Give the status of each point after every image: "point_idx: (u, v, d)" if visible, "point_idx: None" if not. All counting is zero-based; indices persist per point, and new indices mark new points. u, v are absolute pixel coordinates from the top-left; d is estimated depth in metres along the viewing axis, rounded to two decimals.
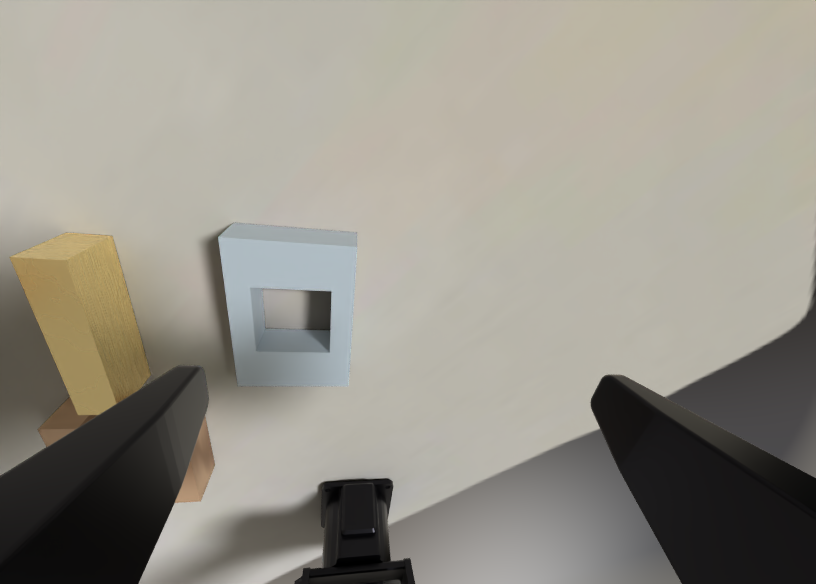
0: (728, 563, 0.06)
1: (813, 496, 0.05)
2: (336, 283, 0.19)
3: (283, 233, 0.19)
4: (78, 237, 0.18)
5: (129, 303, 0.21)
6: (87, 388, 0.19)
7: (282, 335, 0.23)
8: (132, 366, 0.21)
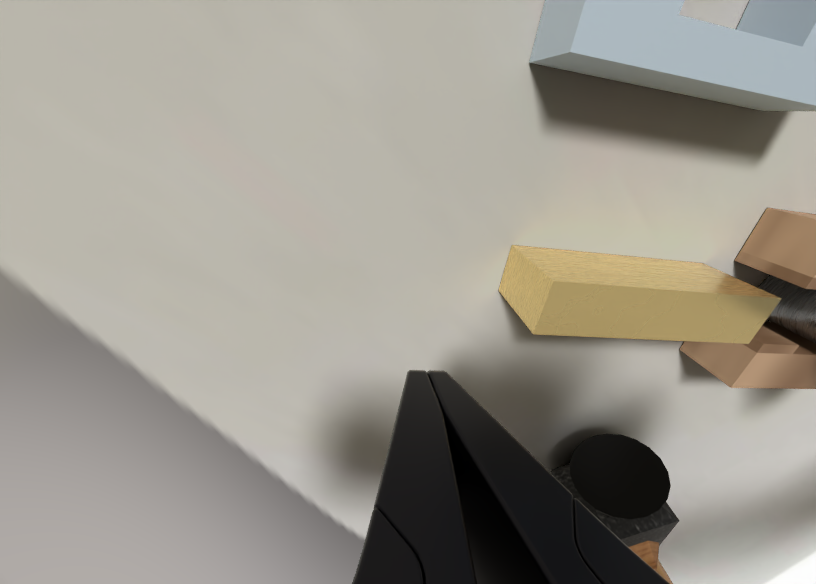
0: None
1: (540, 513, 0.04)
2: None
3: None
4: (509, 277, 0.15)
5: (600, 254, 0.15)
6: (722, 321, 0.14)
7: (766, 9, 0.11)
8: (694, 272, 0.15)
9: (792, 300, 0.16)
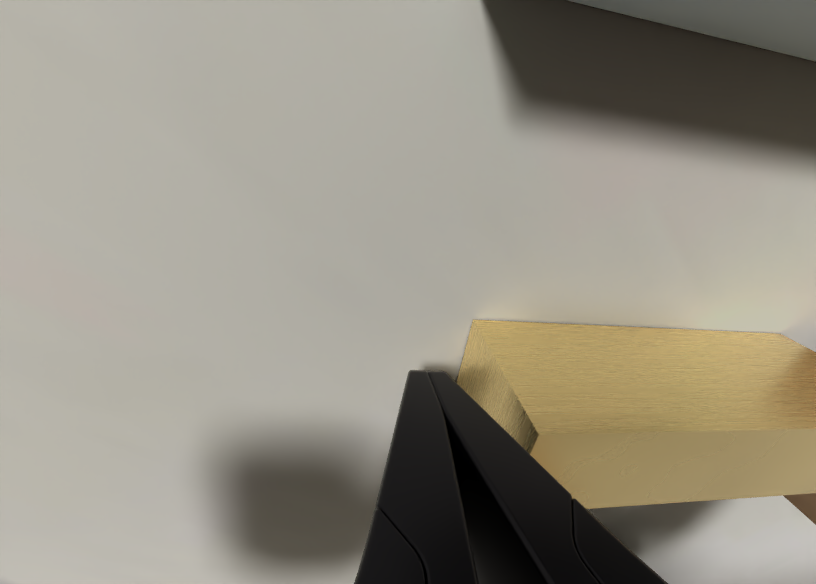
0: None
1: (538, 513, 0.04)
2: None
3: None
4: (469, 374, 0.09)
5: (622, 329, 0.09)
6: None
7: None
8: (780, 361, 0.09)
9: None
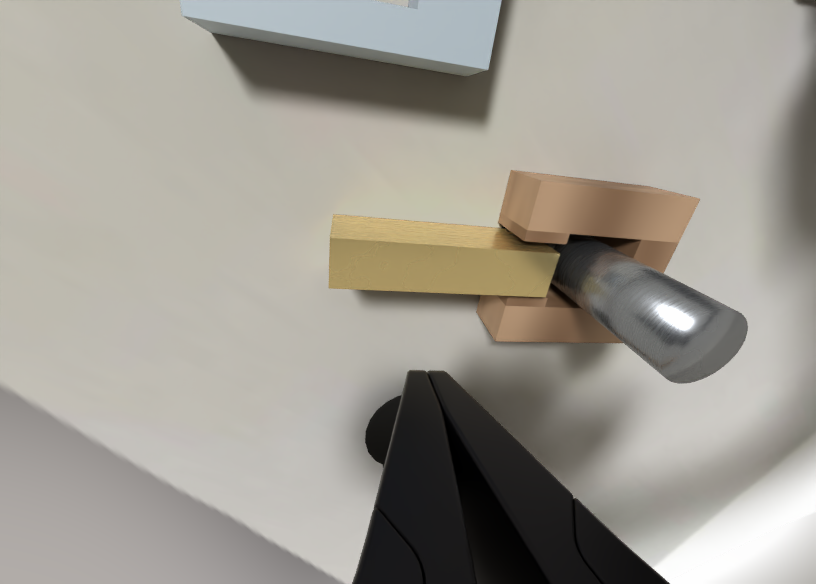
0: None
1: (540, 513, 0.04)
2: None
3: None
4: None
5: (420, 222, 0.17)
6: (510, 275, 0.15)
7: None
8: (501, 235, 0.17)
9: None
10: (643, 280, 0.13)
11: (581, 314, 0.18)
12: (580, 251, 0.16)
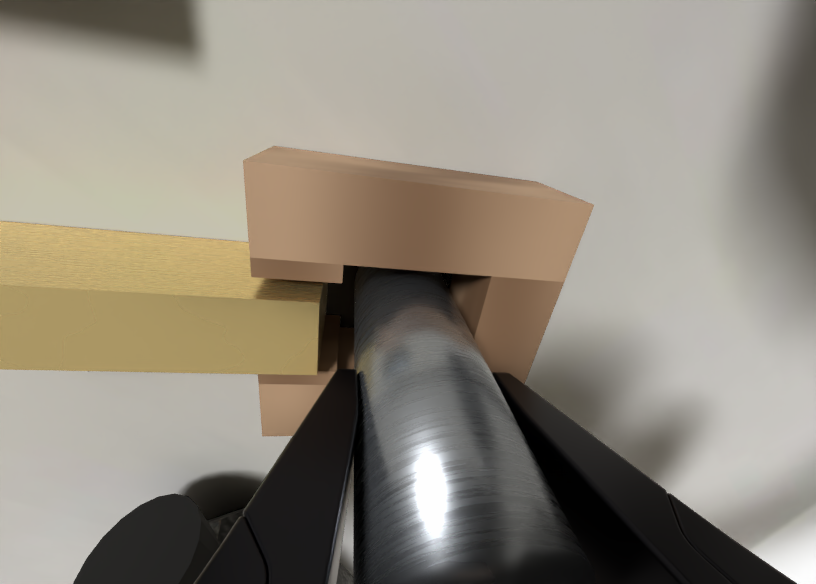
0: None
1: (642, 507, 0.04)
2: None
3: None
4: None
5: (124, 233, 0.10)
6: (228, 340, 0.08)
7: None
8: None
9: (355, 298, 0.10)
10: (403, 388, 0.06)
11: None
12: (375, 296, 0.09)
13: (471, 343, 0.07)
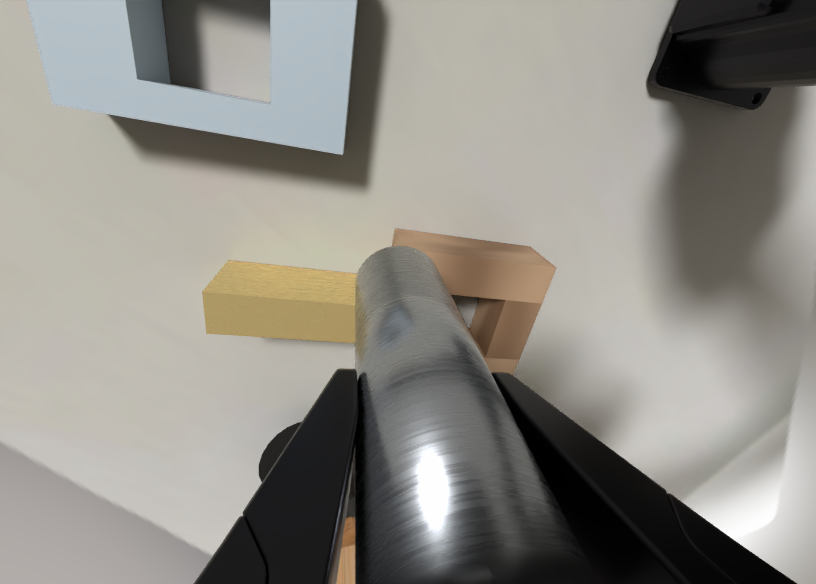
0: None
1: (642, 507, 0.04)
2: None
3: None
4: None
5: (311, 270, 0.19)
6: None
7: None
8: None
9: (355, 299, 0.10)
10: (404, 391, 0.06)
11: None
12: (377, 298, 0.09)
13: (472, 345, 0.07)
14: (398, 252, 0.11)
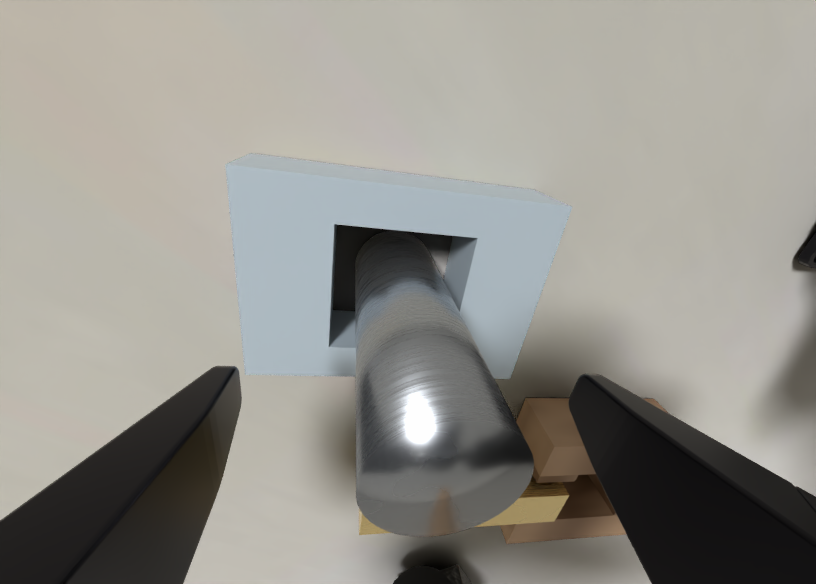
0: (697, 566, 0.06)
1: (780, 498, 0.05)
2: (316, 213, 0.10)
3: None
4: None
5: None
6: (523, 512, 0.17)
7: None
8: None
9: (356, 276, 0.12)
10: (395, 334, 0.07)
11: (586, 520, 0.19)
12: (373, 271, 0.10)
13: (452, 306, 0.09)
14: (393, 235, 0.12)
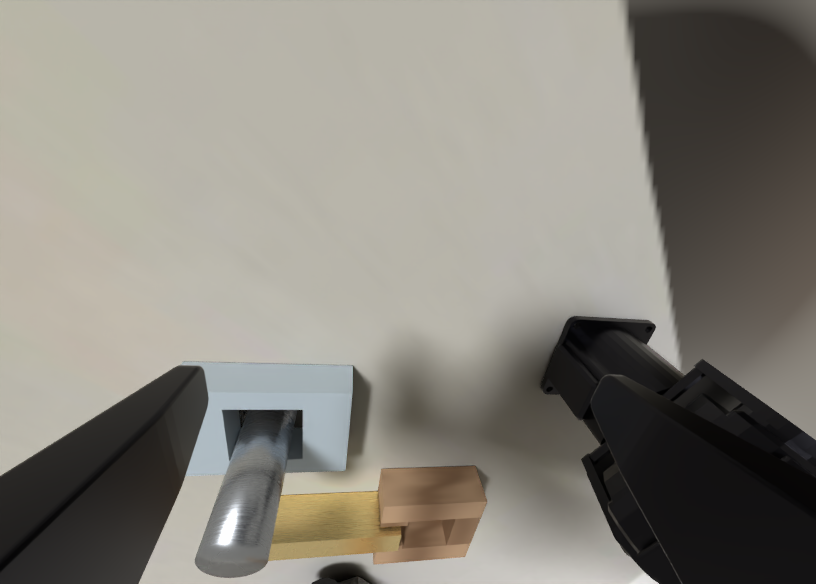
0: (728, 563, 0.06)
1: (814, 496, 0.05)
2: (211, 406, 0.19)
3: None
4: None
5: (327, 495, 0.28)
6: (372, 545, 0.26)
7: None
8: (374, 508, 0.28)
9: (244, 421, 0.21)
10: (229, 488, 0.17)
11: (427, 549, 0.29)
12: (244, 430, 0.20)
13: (271, 461, 0.18)
14: None
